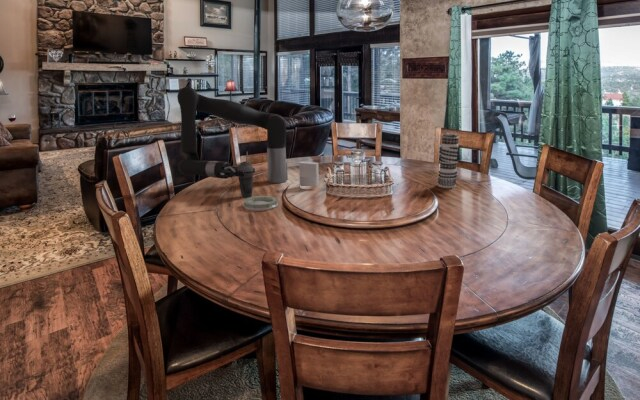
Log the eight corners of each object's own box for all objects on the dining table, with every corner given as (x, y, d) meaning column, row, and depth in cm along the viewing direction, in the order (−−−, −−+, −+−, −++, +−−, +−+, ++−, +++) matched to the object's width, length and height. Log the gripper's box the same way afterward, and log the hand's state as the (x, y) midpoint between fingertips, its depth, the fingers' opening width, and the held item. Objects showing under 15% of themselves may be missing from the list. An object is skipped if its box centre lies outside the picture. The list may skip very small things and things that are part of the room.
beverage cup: (239, 194, 198) (236, 150, 192) (255, 194, 198) (253, 150, 193) (237, 198, 191) (235, 153, 185) (254, 198, 191) (252, 152, 186)
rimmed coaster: (259, 199, 189) (258, 194, 189) (284, 204, 182) (284, 198, 181) (236, 207, 178) (235, 201, 178) (262, 213, 171) (262, 206, 170)
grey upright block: (296, 188, 207) (296, 163, 204) (304, 184, 215) (304, 160, 212) (314, 190, 204) (313, 165, 200) (321, 186, 212) (321, 161, 208)
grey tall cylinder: (458, 184, 213) (462, 132, 206) (455, 189, 205) (459, 135, 198) (438, 182, 217) (442, 131, 210) (435, 187, 209) (438, 134, 202)
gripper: (207, 164, 190) (239, 167, 183) (227, 158, 202) (257, 161, 196) (209, 181, 192) (240, 184, 186) (228, 174, 204) (258, 177, 198)
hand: (249, 172), depth 191 cm, fingers open, 8 cm apart
